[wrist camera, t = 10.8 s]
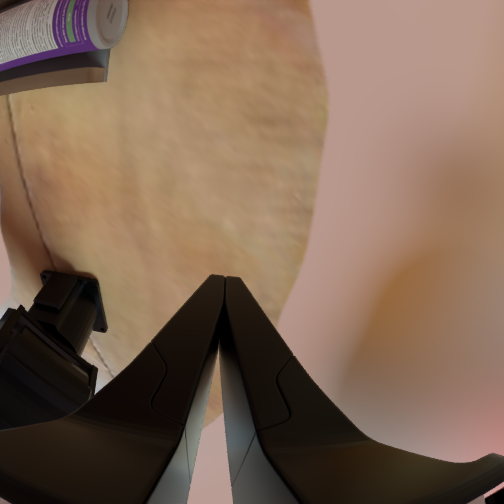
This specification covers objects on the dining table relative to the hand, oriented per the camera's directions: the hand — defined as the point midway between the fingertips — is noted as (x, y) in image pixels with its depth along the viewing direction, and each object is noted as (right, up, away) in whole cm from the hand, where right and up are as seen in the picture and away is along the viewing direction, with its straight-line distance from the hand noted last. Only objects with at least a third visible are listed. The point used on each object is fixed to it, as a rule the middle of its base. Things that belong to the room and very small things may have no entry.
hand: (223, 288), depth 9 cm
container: (-7, +14, +3) cm, 16 cm away
